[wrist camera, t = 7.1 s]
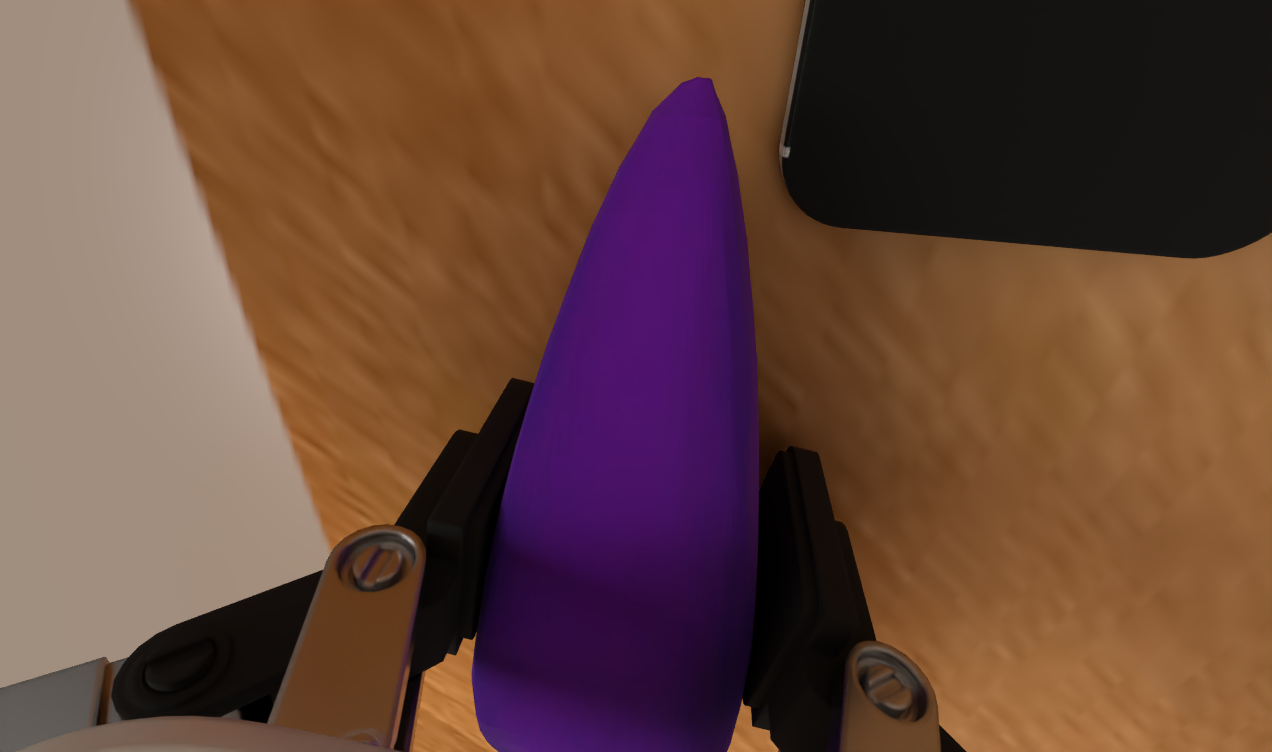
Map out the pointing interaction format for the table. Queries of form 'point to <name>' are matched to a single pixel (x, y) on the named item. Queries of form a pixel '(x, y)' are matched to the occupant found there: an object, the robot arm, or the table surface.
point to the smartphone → (1036, 121)
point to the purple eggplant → (635, 473)
